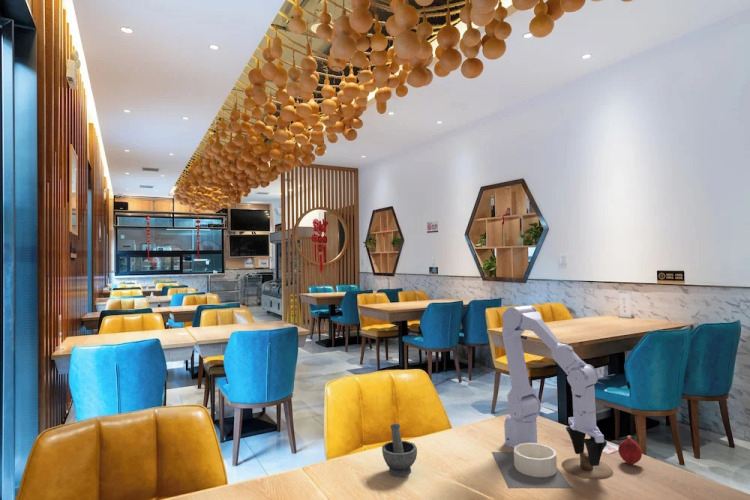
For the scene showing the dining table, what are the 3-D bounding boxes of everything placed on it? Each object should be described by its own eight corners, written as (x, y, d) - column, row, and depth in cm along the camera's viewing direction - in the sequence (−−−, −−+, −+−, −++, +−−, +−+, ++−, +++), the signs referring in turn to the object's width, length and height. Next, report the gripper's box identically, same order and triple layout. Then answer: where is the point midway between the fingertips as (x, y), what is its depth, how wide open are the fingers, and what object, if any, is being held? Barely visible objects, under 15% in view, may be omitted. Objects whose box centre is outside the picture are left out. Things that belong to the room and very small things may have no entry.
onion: (645, 470, 123) (644, 440, 124) (623, 468, 124) (621, 439, 125) (638, 461, 129) (636, 432, 129) (616, 459, 130) (614, 431, 130)
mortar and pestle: (420, 478, 122) (419, 433, 123) (387, 481, 121) (385, 436, 121) (410, 460, 134) (409, 420, 134) (379, 463, 132) (378, 422, 132)
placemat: (508, 489, 115) (508, 487, 115) (491, 453, 137) (491, 451, 137) (572, 489, 114) (572, 487, 114) (544, 453, 136) (544, 451, 136)
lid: (552, 470, 125) (552, 454, 126) (575, 456, 134) (574, 441, 134) (600, 487, 115) (599, 470, 116) (621, 471, 124) (620, 454, 124)
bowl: (506, 467, 126) (506, 450, 126) (528, 456, 133) (527, 439, 133) (543, 481, 118) (542, 463, 118) (564, 468, 125) (563, 451, 125)
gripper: (557, 402, 132) (559, 449, 132) (584, 419, 118) (587, 472, 117) (580, 401, 133) (582, 448, 132) (610, 417, 118) (613, 470, 118)
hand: (586, 459), depth 125 cm, fingers open, 7 cm apart
